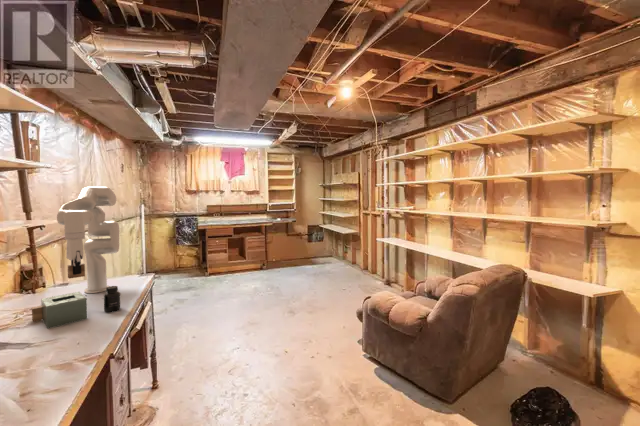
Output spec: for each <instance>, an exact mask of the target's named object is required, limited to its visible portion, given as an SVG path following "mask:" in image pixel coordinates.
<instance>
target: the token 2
mask: <svg viewBox="0 0 640 426" xmlns="http://www.w3.org/2000/svg"><path fill="white" fill-rule="evenodd" d="M81 277H82V278H83V277H86V265H85V263H82V262H81V274H76V275H73V265H71V264H68V265H67V278H68V279H76V278H81Z"/></svg>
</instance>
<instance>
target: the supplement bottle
mask: <svg viewBox="0 0 640 426" xmlns="http://www.w3.org/2000/svg"><path fill="white" fill-rule="evenodd" d="M109 286H110V287H107V288H106V291H105V293H104V294H103V310H104V311H103V312H104V313H108V314H109V313H110V314H111V313H115V312H118V311H120V310H121V292H120V291H119V290H118V288H119V287H118V286H117V285H109Z"/></svg>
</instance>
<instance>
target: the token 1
mask: <svg viewBox="0 0 640 426" xmlns="http://www.w3.org/2000/svg"><path fill="white" fill-rule="evenodd" d="M31 319H32V322H37V321H43V320H42V306H41V305H37V306H32V307H31Z"/></svg>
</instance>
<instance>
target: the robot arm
mask: <svg viewBox="0 0 640 426" xmlns="http://www.w3.org/2000/svg"><path fill="white" fill-rule="evenodd" d="M116 204H117V195H116V194H115V192H114V191H113V190H112V189H111V188H109V187H107V186H86V187H83V188H82V189H81V191H80V193H79V195H78V196H77V198H76V199H72V200H71V201H68V202H66V203H64V204H63V205H61V206H60V207H59V210H58V211H57V214H56V221H57V223H58V224H59V225H61V226H64V240H65V241H66V251H65V252H66V254H65V255H66V259H67V260H69V261H70V265H73V275H76V274H81V264H82V260H83V259H84V254H85V260H86V261H85V262H86V279H87V280H86V282H87V284H86V285H87V286H86V287H87V288H85V289H84V291H83V292H84V293H85V294H96V293H98V294H99V293H102V292H106V288H107V287H110V286H111V285H108V281H107V280H108V279H107V261H106V259H105V257H104V256H102V255H109V254H116V253H118V252H119V250H120V225H119V222H117V221H115V220H106V212H105V211H104V210H103V209H102V208H101V207H112V206H115V205H116ZM86 225H87V234H88V235H89V236H90V237H93V238H91V239H90V238H89V239H87V240H86V241H84V243H83V240H85V238H86V237H85V226H86ZM94 237H95V238H94ZM96 237H98V238H96ZM99 237H101V238H99ZM103 237H108V238H103Z"/></svg>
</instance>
